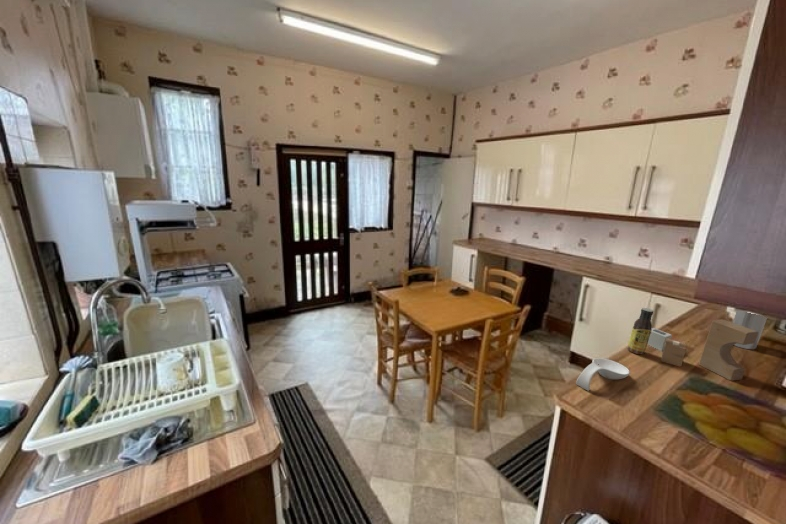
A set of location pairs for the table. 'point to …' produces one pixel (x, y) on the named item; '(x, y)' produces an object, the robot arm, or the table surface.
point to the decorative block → (725, 348)
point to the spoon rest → (601, 371)
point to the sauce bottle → (641, 332)
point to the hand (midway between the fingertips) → (743, 296)
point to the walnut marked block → (673, 352)
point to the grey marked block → (658, 339)
